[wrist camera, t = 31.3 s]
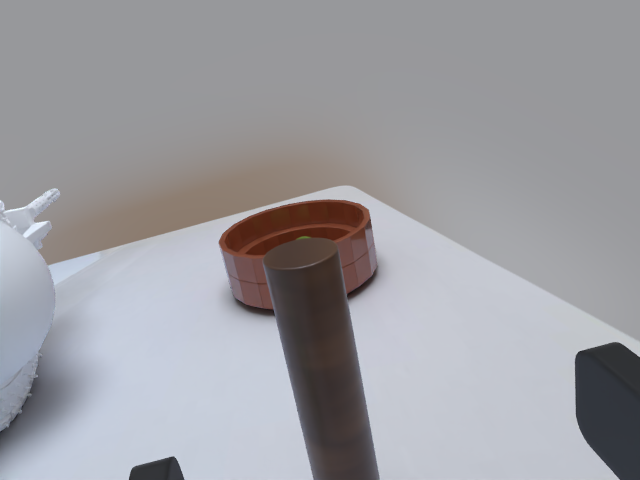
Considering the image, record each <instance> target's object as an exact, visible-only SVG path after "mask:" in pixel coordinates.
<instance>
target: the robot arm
mask: <svg viewBox="0 0 640 480" xmlns="http://www.w3.org/2000/svg"><path fill="white" fill-rule="evenodd" d="M575 388H576V417H577V422H578V425H579V428H580V430H581V433H582V435H583V436H584V438H585V440H586V441H587V443H588V444H589V445H590V447H591V448H592V449H593V450H594V451H595V452H596V453H597V455H598V456H599V457H600V458H601V459H602V460H603V461H604V462H605V463H606V465H607V466H608V467H609V468H610V469H611V470H612V471H613V472H614V473H615V475H616V476H617V477H618V478H619V479H620V480H640V357H638V356H637V355H636V354H635V353H633V352H632V351H631V350H629V349H628V348H627V347H625V346H624V345H622V344H621V343H618V342H613V343H609V344H606V345H602V346H598V347H594V348H590V349H587V350H583V351H580V352H578V353H577V355H576V358H575ZM129 480H184V477H183V474H182V472H181V469H180V466H179V463H178V461H177V459H176V458H175V457H169V458H165V459H161V460H157V461H154V462H150V463H146V464H142V465H138V466H135V467H133V468H132V470H131V473H130V477H129Z"/></svg>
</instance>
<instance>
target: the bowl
mask: <svg viewBox="0 0 640 480" xmlns="http://www.w3.org/2000/svg"><path fill="white" fill-rule="evenodd" d="M303 236H307V237H311V238H325V239H330V240H332V241H334V242H335V243H336V244H337V246H338V249H339V255H340V261H341V266H342V272H343V277H344V283H345V288H346V294H348V293H350V292H351V291H353V290H354V289H356V288H358V287H359V286H361V285H362V284H363V283H364V282H365V281H366V280H368V279H369V278H370V277H371V276H372V275H373V273H374V271H375V269H376V267H377V258H376V251H375V245H374V238H373V232H372V225H371V219H370V214H369V210H368V209H367V208H365V207H364V206H362V205H361V204H358V203H354V202H350V201H346V200H315V201H305V202H299V203H293V204H288V205H283V206H280V207H276V208H272V209H268V210H265V211H262V212H260V213H257V214H254V215H252V216H249V217H247V218H245V219H243V220H242V221H240V222H238V223H236V224H234V225H233V226H231V227H230V228H229V229H228V230H226V231H225V232H224V233H223V234H222V236H221V238H220V240H219V246H220V250H221V254H222V258H223V261H224V265H225V269H226V273H227V277H228V280H229V284H230V288H231V291H232V293H233V296H234V297H235V298H236V299H238V300H239V301H241V302H243V303H244V304H246V305H249V306H254V307H259V308H263V309H269V310H274V309H273V305H272V300H271V296H270V292H269V288H268V283H267V279H266V275H265V271H264V267H263V258H264V256H265V254H266V253H267V252H269V251H270V250H271V249H273V248H275V247H277V246H279V245H281V244H284V243H287V242H290V241H293V240H296V239H297V238H300V237H303Z"/></svg>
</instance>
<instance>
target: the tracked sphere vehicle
mask: <svg viewBox="0 0 640 480" xmlns="http://www.w3.org/2000/svg"><path fill="white" fill-rule="evenodd" d="M59 196H60V192H59V189H54V188H53V189H50V190H49V191H46V194H45V192H44V195H42V196H41V197H38V198H37V199H36V200H34V201H33V202H32V203H30V204H29V205H27V206H26V207H23V208H18V209H13V210H8V211H5V209H4V203H3V202H2V201H0V432H1V431H2V430H3V429H4V428H5V427H9V425H10V422H11V421H13V419H14V418H15V417H16V415H17V414H18V413H19V414H21V412H22V410H21V408H22V405H24V403H25V401H26V398H27V396H29V397H31V393H30V394H29V392H30V389H31V387H32V383H33V380H34V377H36V378H38V374H37V375H35V373H36V368H37V366H38V365H37V363H38V357H42V354H41V353H39V349H40V347H41V346H42V344H43V342H44V340H45V337H46V335H47V333H48V331H49V329H50V327H51V324H52V320H53V315H54V310H55V290H54V283H53V279H52V276H51V273H50V270H49V268H48V266H47V264H46V262H45V260H44V259H43V257H42V256H41V255H40V253H39V252H38V249H40V248H41V247H42V243H41V240H42V239H43V238H44V237H45V236H47V232H48V231H49V230H51V229H52V226H51V223H50V221H45V222H40V223H35V221H34V218H35V217H36V216H37V215H38V214H40V213H41V212H42V211H43V210H44V209H46V208H47V207H48V206H49V204H51V203H52V201H53V202H55V201H54V200H55V199H57V198H58V197H59Z"/></svg>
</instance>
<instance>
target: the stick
mask: <svg viewBox="0 0 640 480" xmlns="http://www.w3.org/2000/svg"><path fill="white" fill-rule="evenodd" d="M263 267H264V271H265V275H266V279H267V283H268V288H269V292H270V296H271V300H272V305H273V309H274V313H275V317H276V322H277V326H278V330H279V334H280V339H281V343H282V347H283V351H284V355H285V360H286V364H287V368H288V372H289V377H290V381H291V385H292V389H293V394H294V398H295V402H296V406H297V411H298V415H299V419H300V423H301V428H302V432H303V436H304V440H305V444H306V449H307V453H308V457H309V461H310V466H311V470H312V474H313V478H314V480H380V478H379V472H378V467H377V461H376V456H375V450H374V444H373V439H372V433H371V428H370V422H369V417H368V411H367V405H366V400H365V394H364V389H363V383H362V378H361V372H360V366H359V361H358V355H357V350H356V344H355V339H354V333H353V327H352V322H351V316H350V311H349V305H348V300H347V294H346V288H345V283H344V277H343V272H342V266H341V261H340V255H339V249H338V246H337V244H336V243H335V242H334V241H332V240H330V239H325V238H304V239H298V240H293V241H290V242H287V243H284V244H281V245H279V246H277V247H275V248H273V249H271V250H270V251H269V252H267V253H266V254H265V256H264V258H263Z"/></svg>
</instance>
